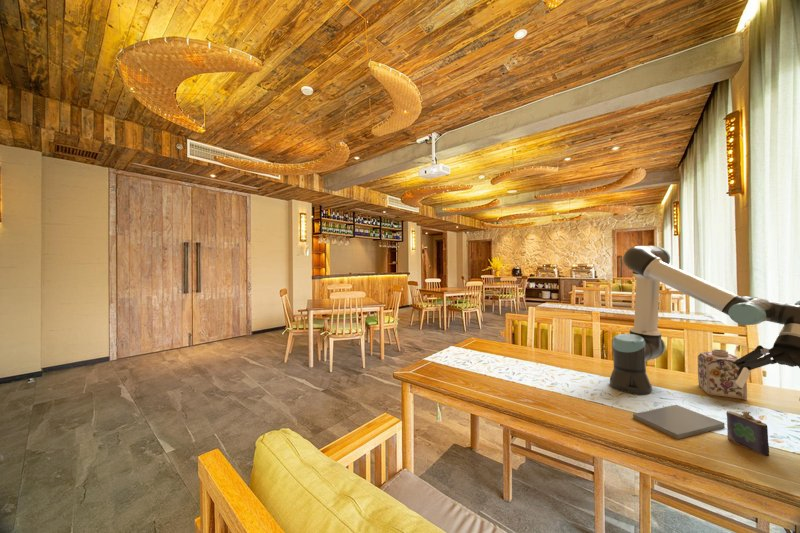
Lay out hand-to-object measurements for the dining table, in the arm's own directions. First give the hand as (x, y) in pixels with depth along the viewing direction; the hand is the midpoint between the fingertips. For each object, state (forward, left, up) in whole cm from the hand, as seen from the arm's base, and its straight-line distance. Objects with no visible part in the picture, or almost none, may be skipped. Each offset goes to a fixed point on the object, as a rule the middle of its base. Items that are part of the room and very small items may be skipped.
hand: (768, 393), depth 92 cm
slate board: (-16, -15, -15) cm, 26 cm away
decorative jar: (-27, +29, -15) cm, 43 cm away
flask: (0, -11, -15) cm, 18 cm away
